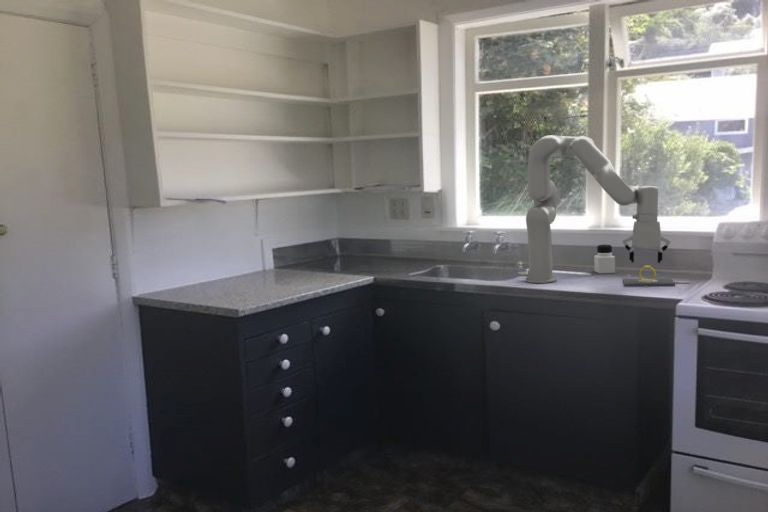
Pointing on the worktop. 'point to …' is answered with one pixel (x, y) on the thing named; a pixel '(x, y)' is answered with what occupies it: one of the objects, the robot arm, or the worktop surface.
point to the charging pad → (652, 282)
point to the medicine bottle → (604, 260)
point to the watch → (647, 267)
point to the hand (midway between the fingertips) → (645, 262)
